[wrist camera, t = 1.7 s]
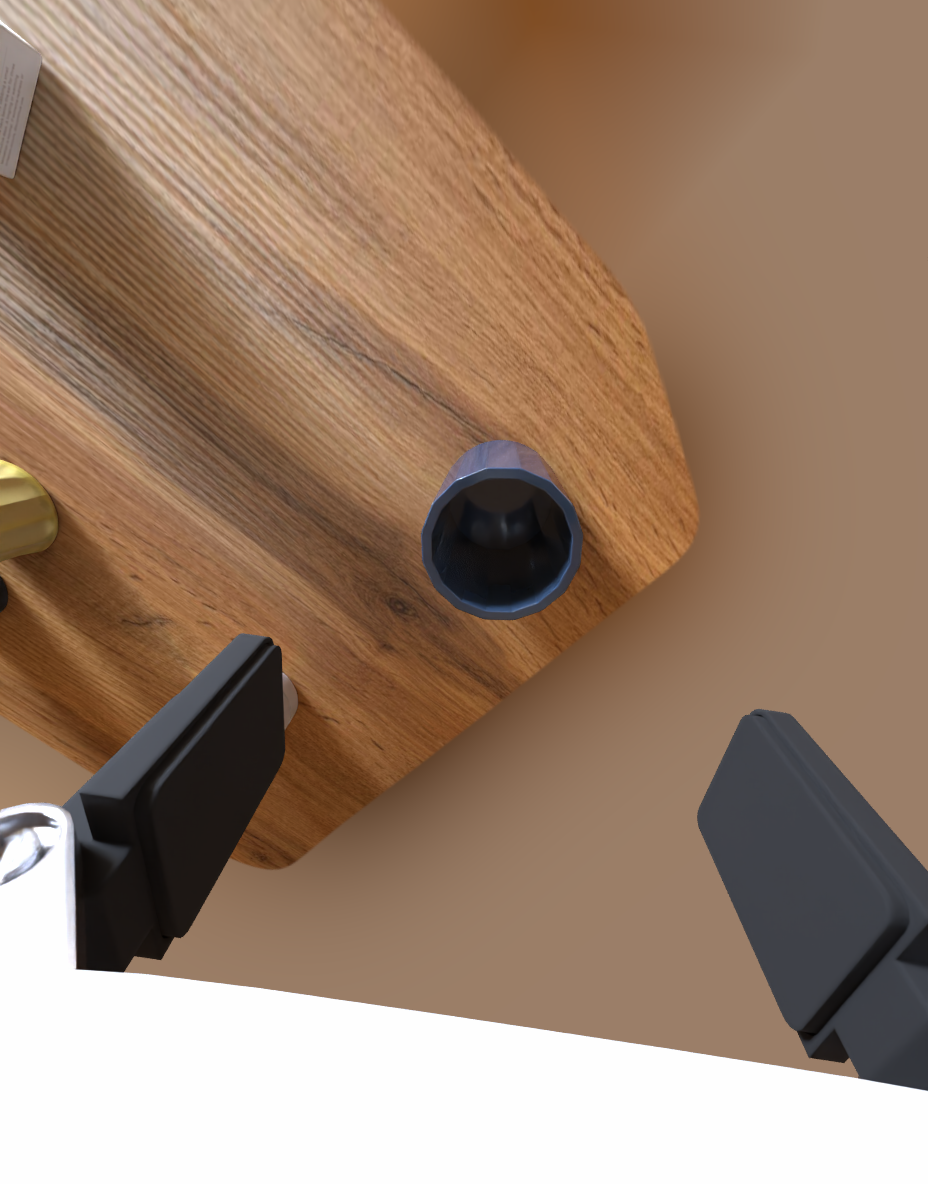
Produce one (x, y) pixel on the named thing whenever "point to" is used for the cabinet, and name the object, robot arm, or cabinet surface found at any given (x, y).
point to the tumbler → (501, 533)
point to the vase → (24, 514)
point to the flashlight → (3, 595)
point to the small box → (15, 94)
